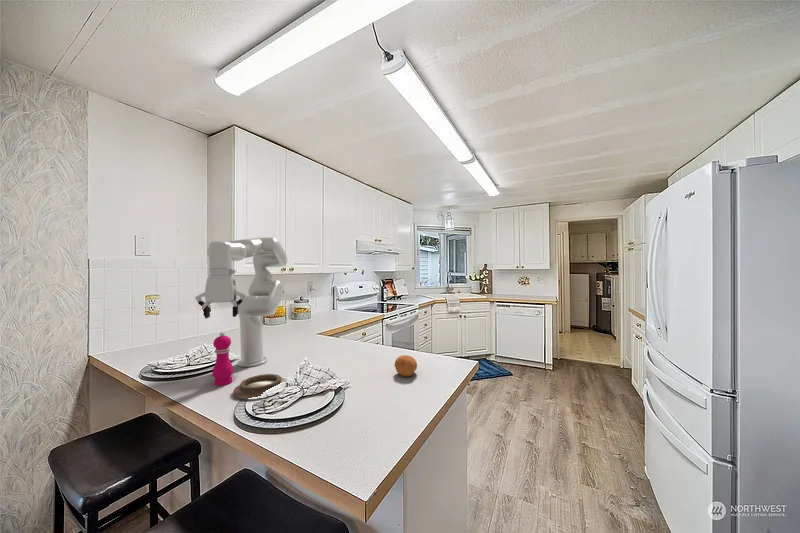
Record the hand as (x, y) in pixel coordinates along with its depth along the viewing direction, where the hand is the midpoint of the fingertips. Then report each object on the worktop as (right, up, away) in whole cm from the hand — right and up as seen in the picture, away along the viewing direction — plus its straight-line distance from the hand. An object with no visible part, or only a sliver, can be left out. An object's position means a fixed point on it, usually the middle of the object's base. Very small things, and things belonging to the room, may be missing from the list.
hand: (221, 317), depth 117 cm
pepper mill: (+1, -26, 0) cm, 26 cm away
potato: (+72, -24, +6) cm, 76 cm away
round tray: (+19, -25, -7) cm, 32 cm away
